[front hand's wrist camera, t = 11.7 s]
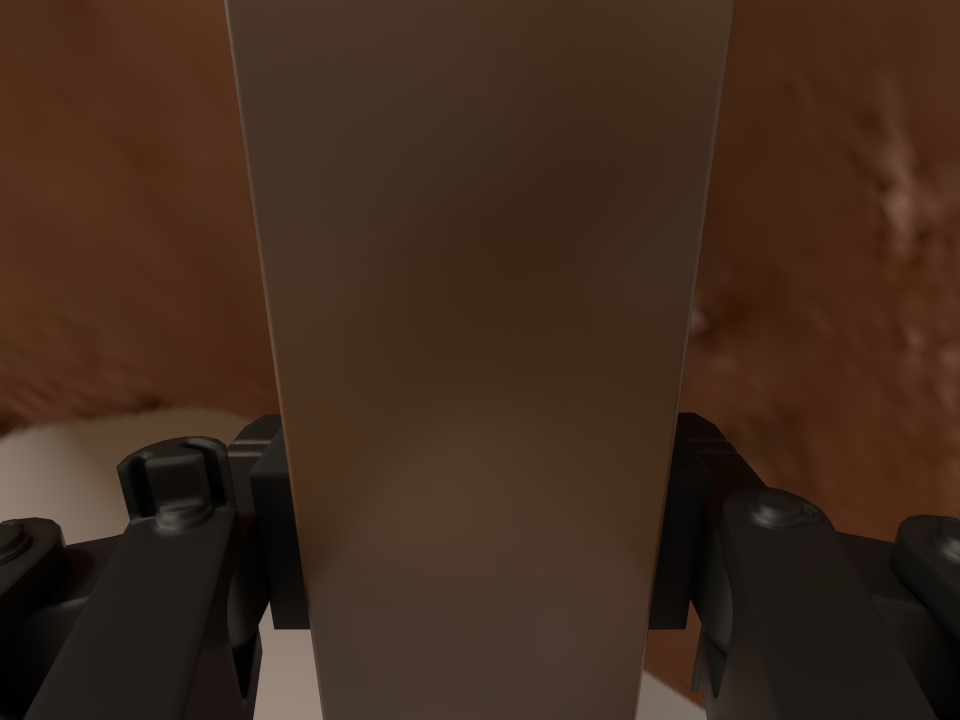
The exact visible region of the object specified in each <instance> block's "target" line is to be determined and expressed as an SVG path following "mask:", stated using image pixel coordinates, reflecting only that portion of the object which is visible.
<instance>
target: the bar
mask: <svg viewBox="0 0 960 720" xmlns="http://www.w3.org/2000/svg"><path fill="white" fill-rule="evenodd" d="M223 1H224V9H225V16H226V23H227V30H228V37H229V45H230V52H231V59H232V66H233V74H234V81H235V88H236V95H237V102H238V110H239V117H240V124H241V131H242V138H243V146H244V153H245V160H246V167H247V175H248V182H249V189H250V196H251V203H252V211H253V218H254V225H255V232H256V239H257V247H258V254H259V261H260V268H261V275H262V283H263V290H264V297H265V304H266V312H267V319H268V326H269V333H270V340H271V348H272V355H273V362H274V369H275V376H276V384H277V391H278V398H279V405H280V413H281V420H282V427H283V434H284V441H285V449H286V456H287V463H288V470H289V477H290V485H291V492H292V499H293V506H294V513H295V521H296V528H297V535H298V542H299V550H300V557H301V564H302V571H303V578H304V586H305V593H306V600H307V607H308V614H309V622H310V629H311V636H312V643H313V651H314V658H315V665H316V672H317V679H318V687H319V694H320V701H321V708H322V715H323V720H636V716H637V709H638V702H639V694H640V687H641V680H642V672H643V665H644V658H645V651H646V643H647V636H648V629H649V621H650V614H651V607H652V600H653V592H654V585H655V578H656V571H657V563H658V556H659V549H660V541H661V534H662V527H663V520H664V512H665V505H666V498H667V490H668V483H669V476H670V469H671V461H672V454H673V447H674V439H675V432H676V425H677V418H678V410H679V403H680V396H681V388H682V381H683V374H684V367H685V359H686V352H687V345H688V337H689V330H690V323H691V316H692V308H693V301H694V294H695V286H696V279H697V272H698V265H699V257H700V250H701V243H702V235H703V228H704V221H705V214H706V206H707V199H708V192H709V184H710V177H711V170H712V163H713V155H714V148H715V141H716V134H717V126H718V119H719V112H720V104H721V97H722V90H723V83H724V75H725V68H726V61H727V53H728V46H729V39H730V32H731V24H732V17H733V10H734V2H735V0H223Z"/></svg>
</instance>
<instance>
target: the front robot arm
mask: <svg viewBox="0 0 960 720" xmlns="http://www.w3.org/2000/svg"><path fill="white" fill-rule="evenodd" d="M117 471H118V475H119V479H120V483H121V487H122V490H123V494H124V498H125V502H126V506H127V510H128V514H129V518H130V522H129V524H128V526H127V528H126V530H125V532H124V533H123V534H121V535H117V536H113V537H108V538H102V539H97V540H92V541H87V542H82V543H76V544H71V545H66V543H65V540H64V537H63V534H62V530H61V527H60V526H59V525H58V524H57V523H55V522H54V521H53V520H50V519H43V518H37V517H34V518H25V519H12V520H7V521H3V522H2V523H0V720H253V716H254V709H255V702H256V695H257V687H258V680H259V673H260V666H261V658H262V644H261V637H260V632H259V626H258V625H259V623H260V621H261V619H262V616H263V614H264V612H265V610H266V608H267V606H268V603H269V601H270V606H271V612H272V618H273V624H274V629H310V622H309V614H308V607H307V600H306V593H305V586H304V578H303V571H302V564H301V557H300V550H299V542H298V535H297V528H296V521H295V513H294V506H293V499H292V492H291V485H290V477H289V470H288V463H287V456H286V449H285V441H284V434H283V427H282V420H281V415H264V416H263V417H261V418H259V419H258V420H256V421H254V422H253V423H251V424H249V425H247V426H246V427H245V428H244V429H243V430H242V431H241V432H240V434H239V435H238V436H237V437H236V438H235V440H234V441H233V444H230V445H229V447H228V448H227V446H226V445H225V444H224V443H222V442H221V441H220V440H218V439H214V438H209V437H204V436H195V437H180V438H175V439H170V440H164V441H161V442H158V443H155V444H152V445H149V446H146V447H144V448H142V449H140V450H138V451H136V452H134V453H132V454H131V455H129V456H127V457H126V458H125V459H124V460H123V461H122V462H121V463H120V464H119V465H117ZM690 599H691V601H692V603H693V605H694V608H695V610H696V612H697V614H698V616H699V618H700V621H701V623H702V626H701V632H700V637H699V643H698V649H697V654H696V660H695V665H694V671H693V677H692V684H691V691H696V692H699V688H700V682H701V679H702V686H703V693H704V701H705V708H706V715H707V720H960V520H959V519H958V518H953V517H948V516H934V515H918V516H911V517H908V518H907V519H905V520H904V521H903V522H901V523H900V526H899V529H898V532H897V535H896V538H895V542H894V543H893V542H887V541H882V540H877V539H872V538H866V537H861V536H856V535H851V534H846V533H842V532H838V531H835V529H834V527H833V525H832V523H831V521H830V520H829V519H828V517H827V516H826V515H825V514H824V513H823V512H822V510H821V509H820V508H818V507H817V506H815V505H814V504H812V503H810V502H809V501H807V500H806V499H804V498H802V497H799V496H797V495H794V494H792V493H789V492H787V491H784V490H780V489H775V488H770V487H767V486H766V485H765V484H764V483H763V481H762V480H761V479H760V478H759V477H758V475H757V474H756V473H755V472H754V471H753V470H752V468H751V467H750V466H749V465H748V464H747V462H746V461H745V460H744V459H743V458H742V456H741V455H740V454H737V451H736V449H735V448H734V447H733V446H732V445H731V443H730V442H727V439H726V437H725V436H724V435H723V434H722V433H721V431H720V430H719V429H718V428H717V427H716V426H715V425H714V424H713V423H711V422H709V421H707V420H706V419H704V418H702V417H701V416H699V415H697V414H695V413H678V418H677V425H676V432H675V439H674V447H673V454H672V461H671V469H670V476H669V483H668V490H667V498H666V505H665V512H664V520H663V527H662V534H661V541H660V549H659V556H658V563H657V571H656V578H655V585H654V592H653V600H652V607H651V614H650V621H649V629H685V628H686V622H687V616H688V610H689V604H690Z"/></svg>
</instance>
